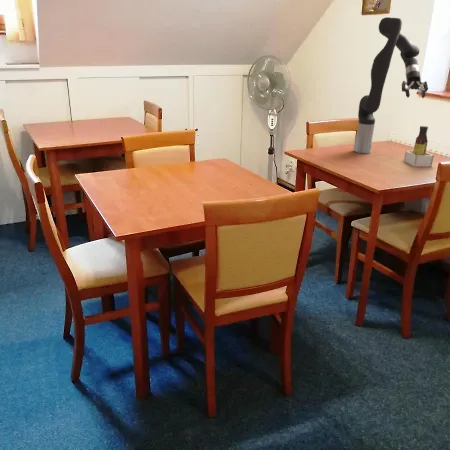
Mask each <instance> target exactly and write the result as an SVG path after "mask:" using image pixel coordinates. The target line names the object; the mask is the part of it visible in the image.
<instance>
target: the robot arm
mask: <svg viewBox="0 0 450 450" xmlns="http://www.w3.org/2000/svg"><path fill="white" fill-rule="evenodd" d="M402 26H403V20H402V19H401V18H399V17H390V16H389V17H386V16H385V17H382V19H380V22H379V24H378V32H379V34H381V35H382V36H383V37H385V38H386V39H387V41H386V43H385V45H384V46H383V48H381V50H380V51H379V52H378V53H377V54H376V55H375V57H374V59H373V62H372V65H371V69H370V82H371V85H370V91H369V94H366V95H363V96H362V97H361V99H360V101H359V104H358V112H357V118H358V123H357V124H358V125H357V131H356V135H355V137H354V143H353V151H354V152H356V153H357V154H370V153H371V150H372V143H373V137H374V130H375V124H376V118H375V117H374V113H375V112H377V111H378V110H379V108H380V106H381V100H382V95H383V90H384V88H385V87H384V86H385V83H386V79H387V76H388V72H389V68H390V65H391V60H392V57H393V53H394V50H395V47H396V49H398V50H399V52H400V54H399V55H400V58H401V60H402V61H403V63H404V67H405V77H406V81H405V80H403V81H402V82H401V92H405V96H406V97H407V98H408V99H409V97H410V96H411V95H410V90H415V91H416V90H417V91H418V92H420V93H421V99H424V98H425V97H426V93H427V91H428V90H429V87H428V82H427V81H423V82H422V80H421V74H420V73H421V72H420V67H419V64H418V59H417V58H415V57H418V56H419V54H420V48H419V45H417V44H415V43H414V42H411V41H410V39H409V38H407V36H406V35H404V34H403V33H401V31H402ZM406 86H407V88H406Z"/></svg>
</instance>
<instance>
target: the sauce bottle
mask: <svg viewBox="0 0 450 450" xmlns="http://www.w3.org/2000/svg"><path fill="white" fill-rule="evenodd" d="M428 130H429V126H427V125H420V126H419V133H418V134H417V137H416V138H415V142H414V147H413V151H414V152H413V154H415V155H425V153H426V152H427V149H428V148H427V147H428V136H427V133H428Z"/></svg>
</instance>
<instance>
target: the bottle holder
mask: <svg viewBox="0 0 450 450" xmlns="http://www.w3.org/2000/svg"><path fill="white" fill-rule="evenodd" d="M413 152H414V150H405V151H404V158H403V162H404V163H406V164H409V165H411V166H412V167H432V166H433V162H434V157H435V156H434V154H432V153H429V152H427V151H426V153H425V155H415V154H413Z"/></svg>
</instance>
